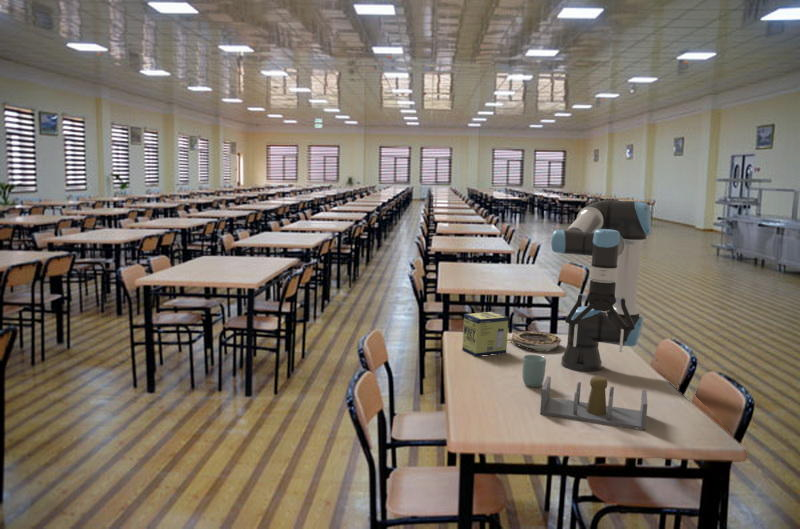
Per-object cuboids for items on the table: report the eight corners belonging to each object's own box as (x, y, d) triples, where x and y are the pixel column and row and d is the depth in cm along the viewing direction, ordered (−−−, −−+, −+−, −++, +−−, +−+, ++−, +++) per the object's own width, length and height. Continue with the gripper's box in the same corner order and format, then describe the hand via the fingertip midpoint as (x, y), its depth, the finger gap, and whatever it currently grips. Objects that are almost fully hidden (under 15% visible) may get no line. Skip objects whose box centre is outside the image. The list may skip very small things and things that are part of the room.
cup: (544, 390, 222) (546, 362, 221) (521, 387, 224) (523, 359, 222) (543, 383, 230) (545, 355, 228) (521, 380, 231) (523, 353, 230)
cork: (590, 415, 197) (593, 380, 196) (583, 408, 203) (585, 374, 202) (609, 415, 198) (612, 380, 197) (601, 408, 204) (604, 374, 202)
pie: (568, 342, 290) (568, 331, 289) (569, 359, 263) (570, 347, 263) (504, 336, 296) (505, 325, 295) (500, 352, 269) (501, 341, 269)
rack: (540, 414, 200) (541, 389, 198) (545, 399, 213) (547, 376, 212) (644, 430, 190) (647, 404, 189) (644, 414, 203) (646, 389, 202)
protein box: (461, 350, 268) (463, 313, 266) (492, 347, 275) (494, 311, 273) (475, 357, 259) (477, 319, 257) (507, 353, 266) (509, 316, 264)
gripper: (559, 278, 197) (554, 346, 200) (647, 286, 188) (640, 356, 192) (562, 275, 204) (557, 340, 207) (646, 282, 195) (640, 350, 199)
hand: (597, 348), depth 199 cm, fingers open, 13 cm apart
